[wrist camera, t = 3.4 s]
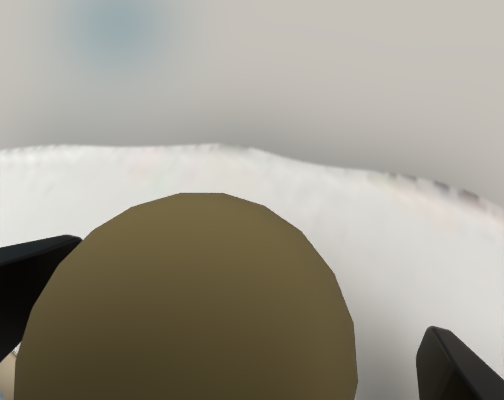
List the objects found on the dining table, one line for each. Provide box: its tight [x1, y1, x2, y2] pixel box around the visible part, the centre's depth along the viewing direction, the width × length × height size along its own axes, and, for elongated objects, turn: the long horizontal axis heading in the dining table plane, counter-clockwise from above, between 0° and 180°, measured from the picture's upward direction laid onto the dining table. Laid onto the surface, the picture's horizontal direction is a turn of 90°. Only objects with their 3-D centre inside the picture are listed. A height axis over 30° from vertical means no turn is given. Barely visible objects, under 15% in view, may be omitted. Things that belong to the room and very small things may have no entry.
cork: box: [14, 193, 358, 400], centre depth 9 cm, size 6×6×11 cm
